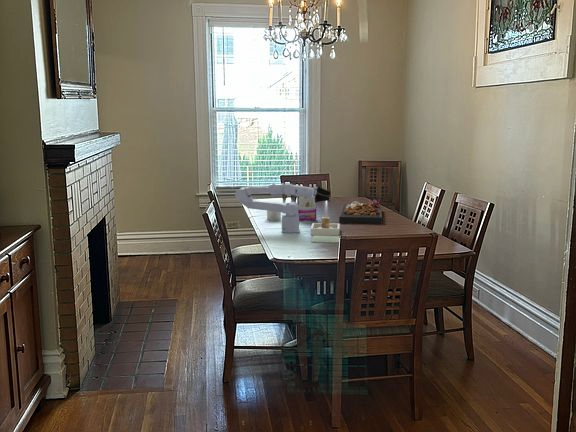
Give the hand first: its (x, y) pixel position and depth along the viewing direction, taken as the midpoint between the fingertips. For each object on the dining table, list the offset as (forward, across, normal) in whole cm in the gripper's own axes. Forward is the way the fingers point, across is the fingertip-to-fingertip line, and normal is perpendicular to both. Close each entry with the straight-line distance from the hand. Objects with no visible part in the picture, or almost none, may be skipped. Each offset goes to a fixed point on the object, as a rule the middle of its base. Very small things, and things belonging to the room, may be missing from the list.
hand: (329, 196), depth 308 cm
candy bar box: (-12, +29, +30) cm, 43 cm away
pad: (+2, -23, +15) cm, 27 cm away
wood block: (+1, -5, +17) cm, 18 cm away
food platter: (+21, +43, +28) cm, 55 cm away
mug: (-32, +30, +33) cm, 55 cm away
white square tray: (+1, -5, +19) cm, 20 cm away
